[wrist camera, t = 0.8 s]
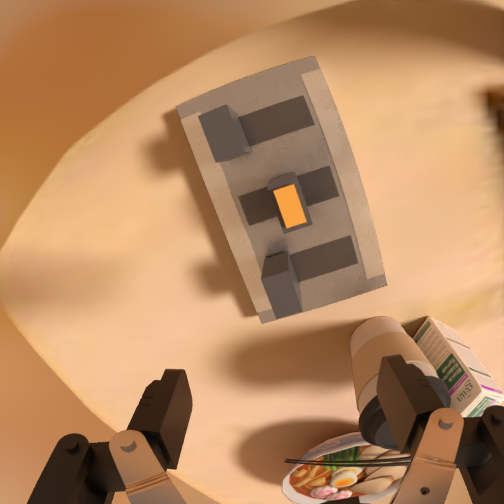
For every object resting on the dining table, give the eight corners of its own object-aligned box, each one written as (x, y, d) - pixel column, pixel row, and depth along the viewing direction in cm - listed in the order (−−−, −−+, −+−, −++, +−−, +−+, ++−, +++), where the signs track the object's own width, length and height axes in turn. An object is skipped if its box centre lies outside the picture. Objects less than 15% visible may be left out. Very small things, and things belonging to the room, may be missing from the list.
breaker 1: (236, 112, 26) (226, 104, 21) (251, 151, 27) (245, 151, 22) (212, 121, 27) (197, 116, 22) (227, 160, 28) (215, 162, 23)
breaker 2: (288, 251, 30) (288, 270, 25) (300, 287, 31) (302, 311, 26) (264, 258, 30) (260, 279, 25) (277, 294, 31) (276, 319, 27)
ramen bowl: (264, 474, 46) (260, 509, 38) (294, 397, 39) (294, 442, 31) (385, 477, 45) (391, 508, 37) (443, 403, 37) (459, 439, 30)
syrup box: (427, 314, 33) (481, 390, 19) (455, 328, 33) (508, 399, 19) (401, 349, 35) (440, 432, 21) (431, 361, 35) (471, 437, 21)
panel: (312, 61, 26) (314, 55, 24) (381, 277, 32) (387, 285, 30) (182, 108, 28) (175, 106, 27) (263, 314, 35) (261, 324, 33)
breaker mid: (294, 171, 27) (296, 176, 22) (308, 212, 28) (313, 226, 23) (269, 180, 28) (265, 186, 22) (283, 220, 29) (283, 236, 24)
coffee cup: (334, 320, 34) (357, 416, 20) (407, 298, 32) (463, 379, 18) (347, 375, 37) (365, 468, 22) (411, 355, 35) (451, 439, 21)
